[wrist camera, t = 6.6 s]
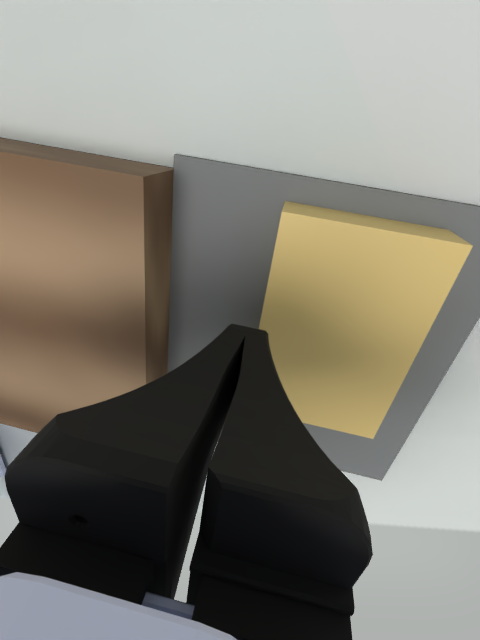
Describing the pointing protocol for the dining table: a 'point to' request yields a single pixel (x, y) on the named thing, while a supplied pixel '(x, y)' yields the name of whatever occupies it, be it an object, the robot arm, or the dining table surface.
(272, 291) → the yellow rectangular block
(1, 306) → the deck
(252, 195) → the mat
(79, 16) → the dining table surface
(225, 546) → the robot arm
